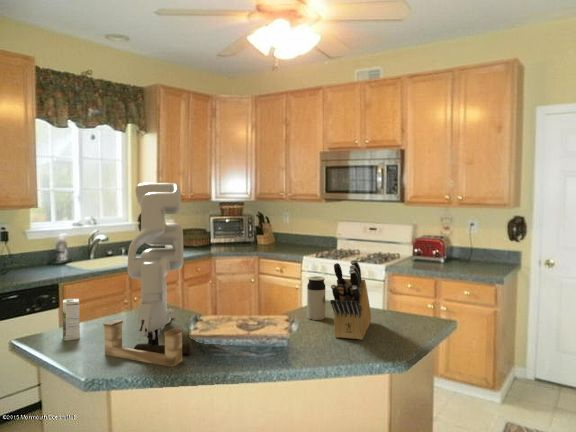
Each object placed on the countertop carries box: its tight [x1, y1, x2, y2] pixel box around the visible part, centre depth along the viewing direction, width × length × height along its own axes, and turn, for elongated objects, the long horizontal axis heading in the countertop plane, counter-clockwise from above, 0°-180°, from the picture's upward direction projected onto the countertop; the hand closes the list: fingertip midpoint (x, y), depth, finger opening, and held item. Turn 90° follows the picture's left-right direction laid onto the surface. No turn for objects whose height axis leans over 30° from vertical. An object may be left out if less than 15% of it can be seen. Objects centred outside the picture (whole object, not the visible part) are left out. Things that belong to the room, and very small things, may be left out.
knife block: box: [330, 259, 372, 340], centre depth 178 cm, size 11×35×31 cm, turn 162°
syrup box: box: [62, 298, 81, 342], centre depth 171 cm, size 6×6×14 cm
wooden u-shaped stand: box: [103, 319, 184, 368], centre depth 151 cm, size 5×28×11 cm, turn 68°
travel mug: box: [306, 275, 326, 321], centre depth 199 cm, size 8×8×18 cm
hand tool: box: [133, 342, 191, 356], centre depth 154 cm, size 19×4×5 cm, turn 98°
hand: (153, 349), depth 156 cm, fingers closed
